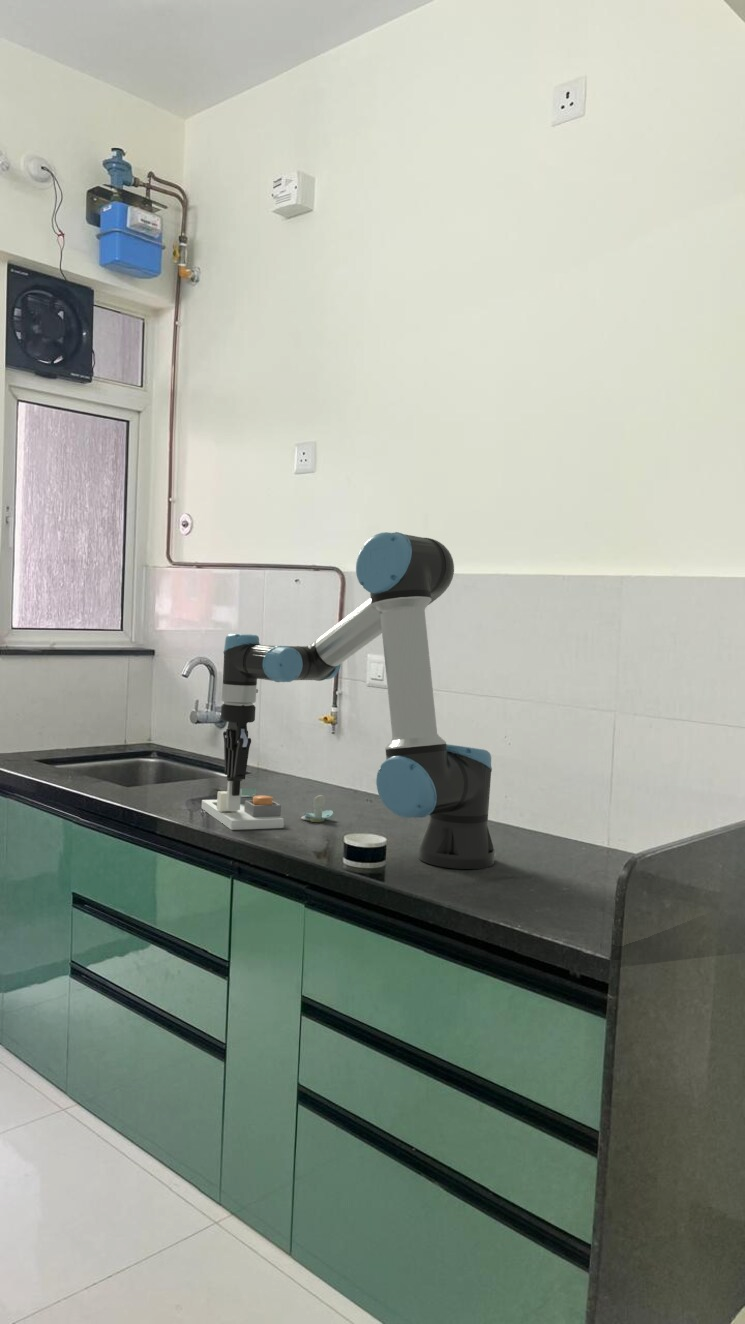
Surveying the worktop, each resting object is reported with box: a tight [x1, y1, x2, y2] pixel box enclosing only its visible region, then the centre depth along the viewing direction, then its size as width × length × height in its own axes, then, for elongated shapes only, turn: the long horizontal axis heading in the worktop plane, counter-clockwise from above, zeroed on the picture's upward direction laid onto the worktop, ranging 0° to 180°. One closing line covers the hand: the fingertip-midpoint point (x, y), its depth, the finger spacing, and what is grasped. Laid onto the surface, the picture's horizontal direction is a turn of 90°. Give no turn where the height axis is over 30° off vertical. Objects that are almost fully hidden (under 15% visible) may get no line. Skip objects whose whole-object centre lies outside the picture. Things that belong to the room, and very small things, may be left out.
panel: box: [201, 796, 285, 831], centre depth 232 cm, size 24×12×4 cm, turn 25°
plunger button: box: [252, 794, 274, 805], centre depth 228 cm, size 4×4×3 cm
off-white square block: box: [216, 790, 238, 812], centre depth 228 cm, size 3×4×4 cm
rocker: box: [241, 787, 258, 797], centre depth 239 cm, size 6×4×1 cm, turn 25°
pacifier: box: [300, 794, 334, 823], centre depth 234 cm, size 7×6×6 cm
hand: (233, 809), depth 224 cm, fingers closed
